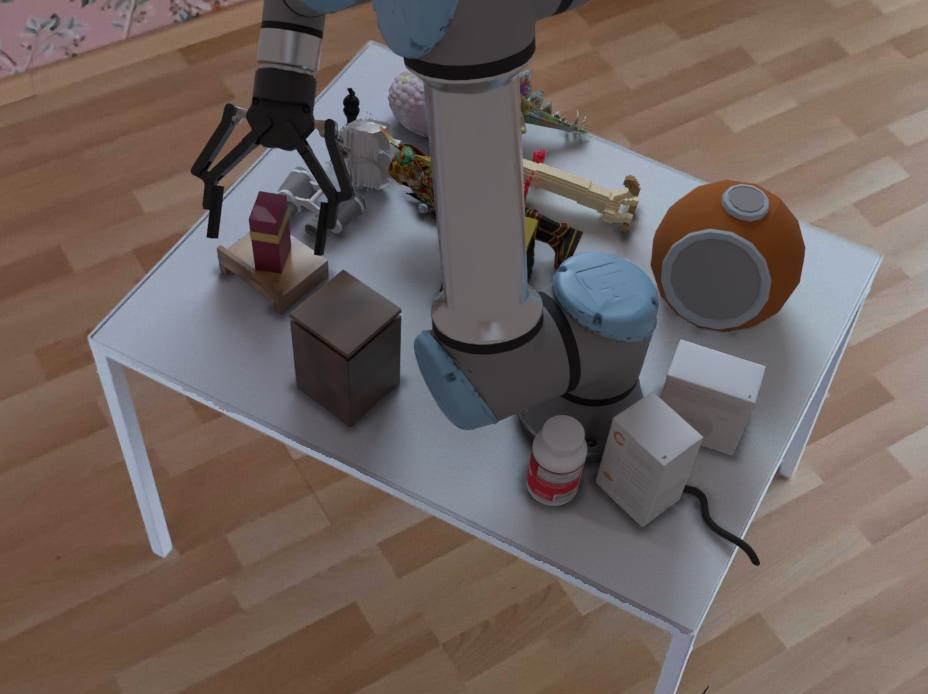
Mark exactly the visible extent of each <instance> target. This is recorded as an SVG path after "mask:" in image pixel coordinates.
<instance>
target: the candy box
mask: <svg viewBox="0 0 928 694" xmlns="http://www.w3.org/2000/svg"><path fill="white" fill-rule="evenodd" d="M275 193H276V192H275ZM275 193H274V192H268V191H263V190H259V191H258V193H257V196H256V198H255V201H254V204H253V206H252V209H251V211H250V214H249V217H248V225H249V232H250V238H251V242H252V249H253V257H254V264H255V269H256V270H262V271H268V272H274V273H280V274H282V271H283V268H284V266H285V263H286V260H287V257H288V254H289V251H290V248H291V237H290V235H291V230H290V229H291V226H290V222H289V209H288V204H287V195H282V194H275Z"/></svg>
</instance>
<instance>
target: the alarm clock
mask: <svg viewBox="0 0 928 694" xmlns="http://www.w3.org/2000/svg"><path fill="white" fill-rule="evenodd" d="M805 257H806V245H805V241H804V236H803V233H802V229H801V226H800V222H799V220H798V218H797V217H796V216H795V215H794V213H793V212H792V211H791V209H790V208H789V207H788V206H787V204H786V203H785V202H784V201H783V200H782V198H781V197H780V196H778V195H776V194H775V193H773V192H771V191H769V190H767V189H766V188H764V187H763V186H760V185H759V184H757V183H754V182H753V183H752V182H746V181H739V180H733V179H732V180H731V179H723V180H718V181H715V182H710V183H705V184H702V185H698V186H696V187H695V188H693V189H691V191H689V192H688V193H686V194H685V195H684V196H682V197H681V198H680V199H678V200H676V201H675V202H673V204H672V205H670V207H668V209H667V211H666V213H665V214H664V216H663V218H661V221H660V223H659V225H658V226H657V228H656V229H655V232H654V236H653V238H652V246H651V256H650V269H651V271H652V274H653V278H654V281H655V284H656V287H657V291H658V293H659V296H660V297H661V298H662V300H663V301H664V302H665V303H666V305H667V306H668V307H669V308H670V309H671V310H672V312H673V313H674V315H676V316H677V317H679V318H680V319H683V320H684V321H686V322H687V323H689V324H691V325H693V326H694V327H696V328H697V329H700V330H708V331H709V330H710V331H713V332H718V333H719V332H720V333H731V332H735V331H741V330H746V329H751V328H754V327H756V326H758V325H759V324H761V323H763V322H765V321H766V320H768V319H770V318H771V317H773V316H775V315H776V314H778V313H779V312H780V311H781V310H782V309H783V307H784V306H785V304H786V303H787V302H788V300H789V299H790V297H791V296H792V294H793V293H794V292H795V290H796V289H797V287H798V286H799V284H800V283H801V280H802V274H803V267H804V264H805V263H804V262H805Z"/></svg>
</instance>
